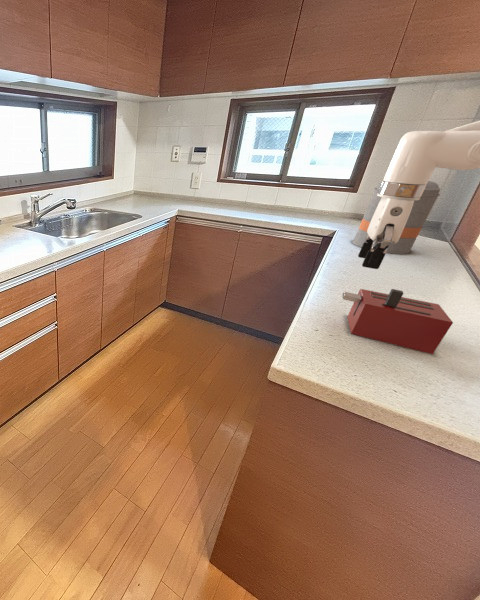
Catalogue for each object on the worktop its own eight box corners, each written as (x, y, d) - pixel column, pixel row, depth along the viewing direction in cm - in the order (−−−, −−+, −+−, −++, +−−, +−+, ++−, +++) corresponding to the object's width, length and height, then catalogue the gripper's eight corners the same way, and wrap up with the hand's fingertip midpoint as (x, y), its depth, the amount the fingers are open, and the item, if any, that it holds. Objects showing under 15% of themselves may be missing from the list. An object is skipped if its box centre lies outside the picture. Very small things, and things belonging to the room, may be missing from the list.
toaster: (420, 333, 86) (439, 303, 82) (432, 354, 78) (453, 322, 74) (346, 316, 94) (360, 288, 90) (350, 333, 86) (365, 303, 81)
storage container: (368, 251, 150) (404, 171, 134) (342, 238, 170) (371, 166, 154) (423, 255, 147) (467, 173, 131) (390, 241, 166) (425, 169, 150)
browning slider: (394, 305, 81) (402, 290, 79) (395, 307, 79) (403, 293, 78) (384, 303, 82) (391, 288, 80) (385, 305, 80) (392, 291, 79)
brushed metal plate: (358, 298, 88) (360, 294, 87) (359, 303, 85) (361, 298, 85) (342, 295, 89) (343, 291, 89) (342, 299, 87) (344, 295, 87)
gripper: (433, 198, 66) (393, 276, 74) (412, 188, 79) (380, 256, 87) (386, 193, 70) (352, 269, 78) (373, 185, 83) (346, 251, 91)
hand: (367, 262), depth 83 cm, fingers open, 7 cm apart
